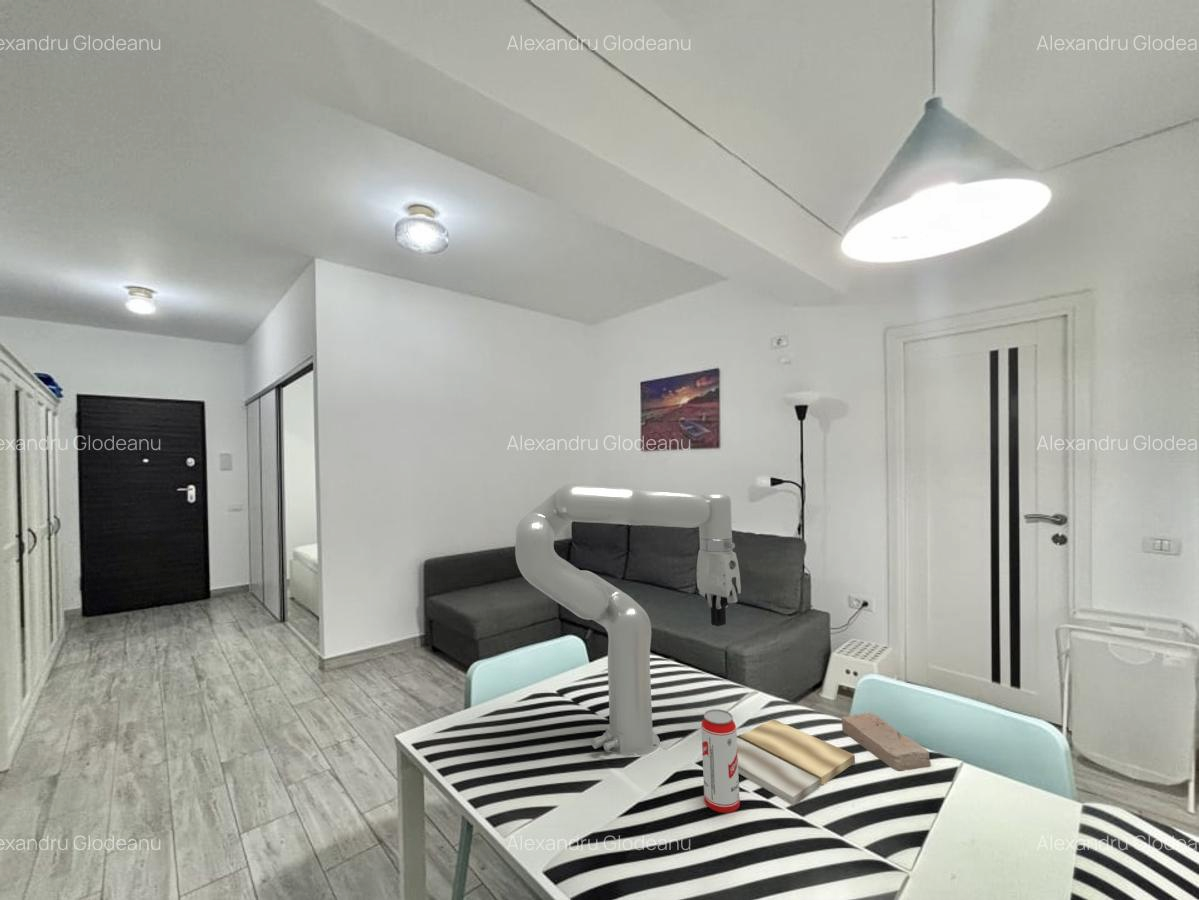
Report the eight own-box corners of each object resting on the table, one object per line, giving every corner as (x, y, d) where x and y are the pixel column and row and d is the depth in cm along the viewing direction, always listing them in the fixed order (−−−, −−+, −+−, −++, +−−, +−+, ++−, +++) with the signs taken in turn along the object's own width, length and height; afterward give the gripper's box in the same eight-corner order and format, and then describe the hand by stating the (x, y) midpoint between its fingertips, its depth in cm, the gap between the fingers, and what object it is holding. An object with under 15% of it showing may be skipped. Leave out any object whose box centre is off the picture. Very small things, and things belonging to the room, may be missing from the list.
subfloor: (793, 815, 86) (792, 800, 86) (706, 763, 102) (706, 751, 102) (862, 765, 100) (862, 753, 100) (777, 726, 116) (776, 716, 116)
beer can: (741, 799, 90) (737, 710, 91) (739, 822, 84) (734, 726, 85) (706, 793, 92) (702, 706, 93) (702, 815, 87) (698, 721, 88)
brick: (934, 773, 97) (932, 748, 97) (896, 779, 95) (895, 754, 96) (873, 732, 113) (871, 711, 113) (840, 736, 112) (839, 715, 112)
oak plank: (821, 785, 92) (821, 777, 92) (740, 742, 107) (739, 735, 108) (855, 762, 99) (854, 754, 99) (773, 725, 114) (773, 718, 114)
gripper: (752, 547, 112) (755, 629, 111) (703, 541, 125) (706, 615, 123) (730, 550, 108) (733, 635, 107) (682, 544, 120) (684, 620, 119)
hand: (718, 624), depth 115 cm, fingers closed
